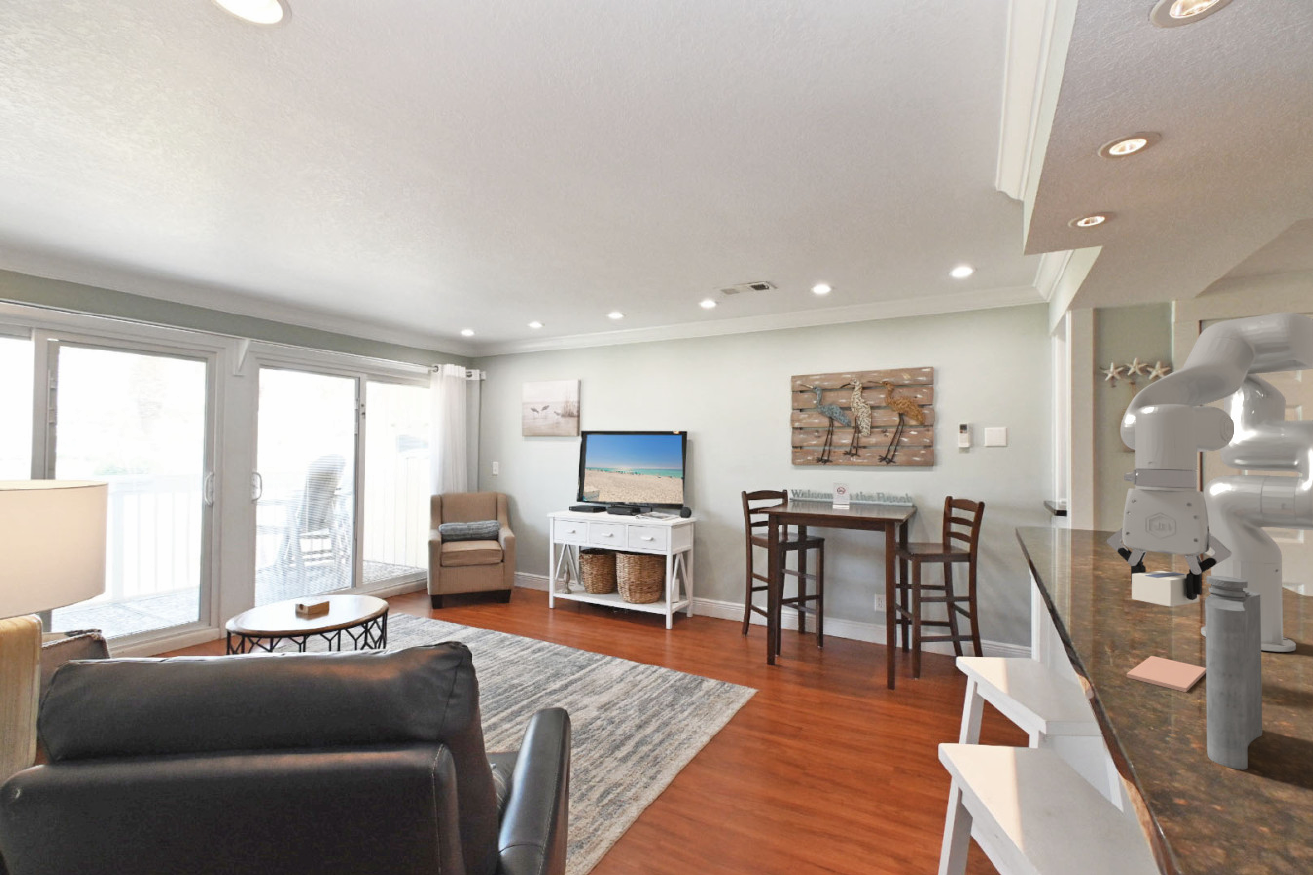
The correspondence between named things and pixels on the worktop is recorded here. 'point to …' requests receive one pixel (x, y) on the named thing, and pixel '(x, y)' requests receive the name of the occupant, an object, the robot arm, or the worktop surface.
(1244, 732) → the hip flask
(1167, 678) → the mat
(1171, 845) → the worktop surface
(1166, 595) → the card box
